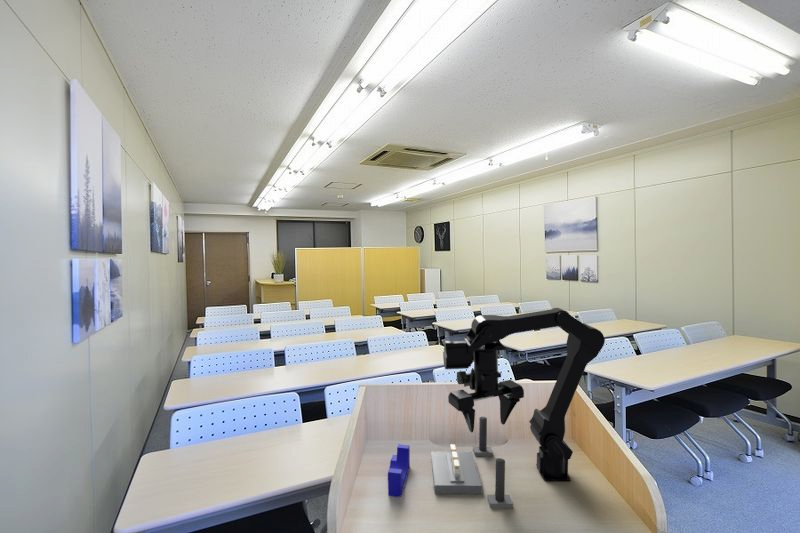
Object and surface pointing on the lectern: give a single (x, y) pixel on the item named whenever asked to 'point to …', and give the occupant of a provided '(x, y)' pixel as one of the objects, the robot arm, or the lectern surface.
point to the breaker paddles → (454, 460)
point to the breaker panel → (445, 474)
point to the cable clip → (398, 470)
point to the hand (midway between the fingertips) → (487, 427)
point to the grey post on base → (482, 440)
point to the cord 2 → (500, 488)
